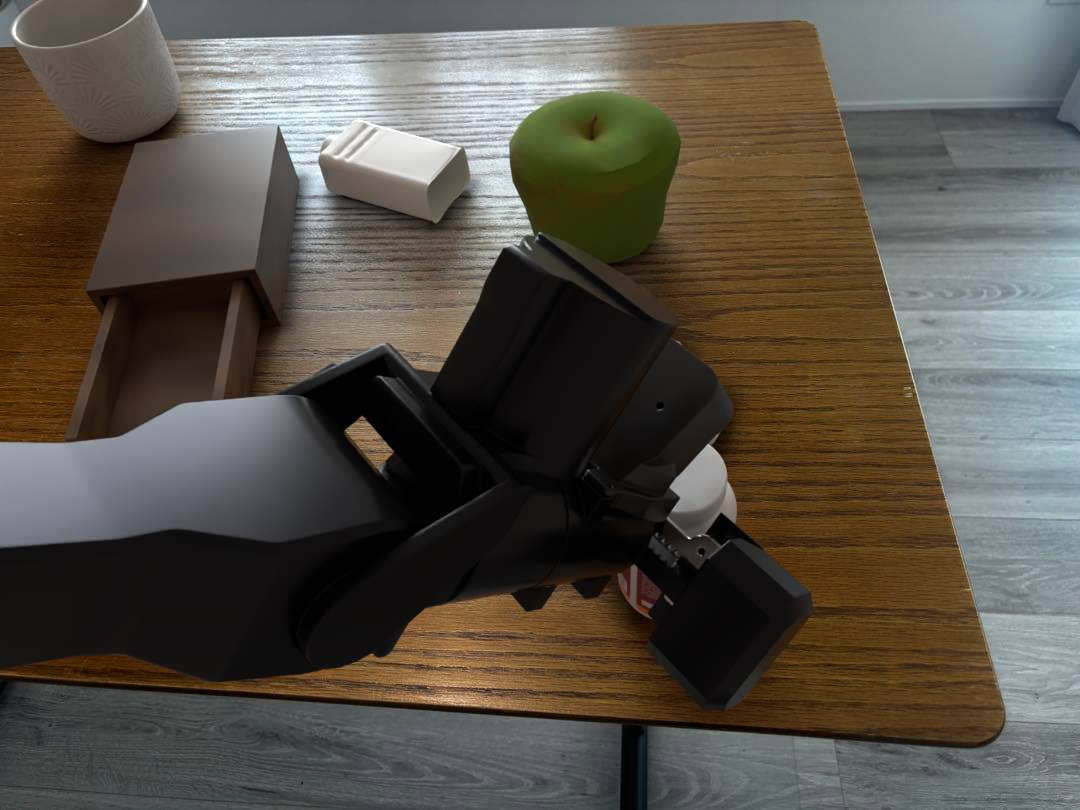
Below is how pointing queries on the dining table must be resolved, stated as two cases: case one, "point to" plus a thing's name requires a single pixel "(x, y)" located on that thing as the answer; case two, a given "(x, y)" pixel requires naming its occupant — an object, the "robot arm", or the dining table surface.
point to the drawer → (167, 354)
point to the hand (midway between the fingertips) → (693, 505)
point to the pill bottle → (687, 517)
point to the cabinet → (202, 217)
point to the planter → (100, 65)
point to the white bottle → (394, 169)
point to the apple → (596, 171)
